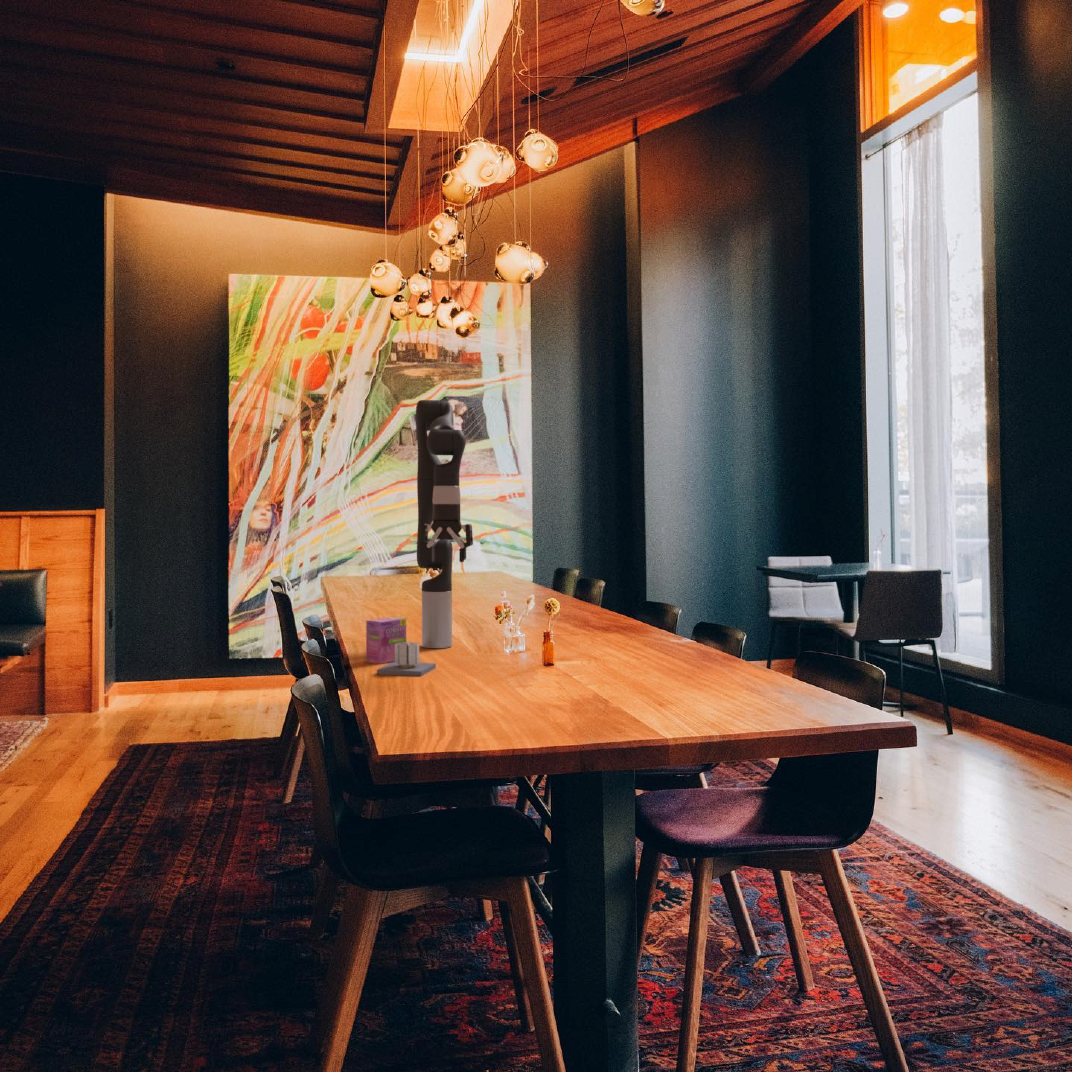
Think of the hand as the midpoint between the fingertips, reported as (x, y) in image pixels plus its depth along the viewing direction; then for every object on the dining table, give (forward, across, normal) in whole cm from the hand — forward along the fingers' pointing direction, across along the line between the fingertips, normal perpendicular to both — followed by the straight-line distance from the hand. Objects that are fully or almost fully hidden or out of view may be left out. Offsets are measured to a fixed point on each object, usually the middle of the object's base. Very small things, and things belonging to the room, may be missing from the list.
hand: (446, 561), depth 255 cm
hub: (+26, +7, +13) cm, 30 cm away
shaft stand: (+28, +7, +13) cm, 32 cm away
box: (+28, +18, -1) cm, 34 cm away
